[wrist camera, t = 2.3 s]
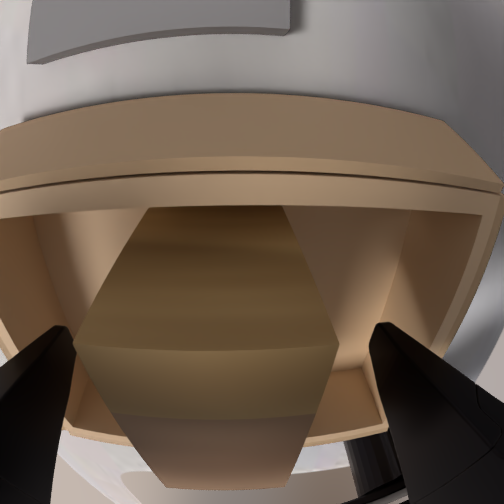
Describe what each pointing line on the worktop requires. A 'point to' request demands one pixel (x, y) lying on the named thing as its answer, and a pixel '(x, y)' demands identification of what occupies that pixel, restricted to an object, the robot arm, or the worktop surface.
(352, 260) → the carton
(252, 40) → the worktop surface
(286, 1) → the mat
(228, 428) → the block
